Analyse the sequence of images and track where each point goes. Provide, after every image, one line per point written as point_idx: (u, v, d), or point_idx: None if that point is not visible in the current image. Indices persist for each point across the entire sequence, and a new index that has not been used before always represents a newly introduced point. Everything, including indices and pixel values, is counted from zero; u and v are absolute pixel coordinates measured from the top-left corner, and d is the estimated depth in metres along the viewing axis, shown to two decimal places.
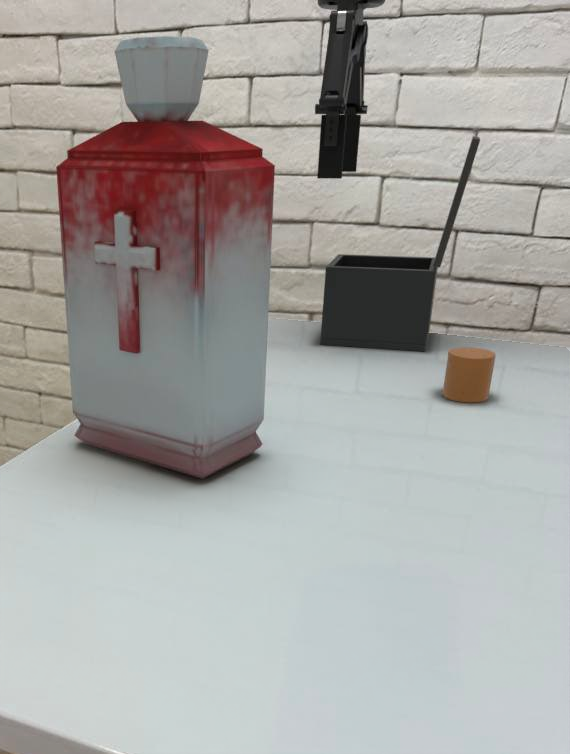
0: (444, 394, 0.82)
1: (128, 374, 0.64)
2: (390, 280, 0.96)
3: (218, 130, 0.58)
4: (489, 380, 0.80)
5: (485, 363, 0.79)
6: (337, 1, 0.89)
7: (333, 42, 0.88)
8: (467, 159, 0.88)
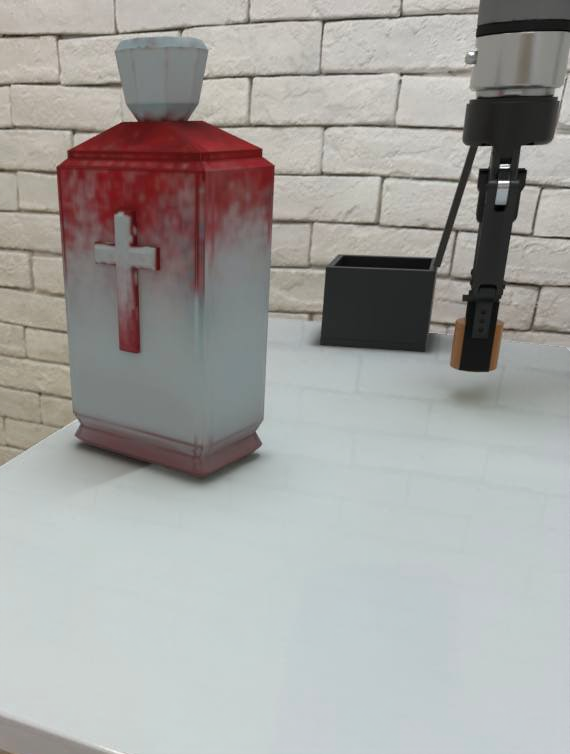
0: (452, 364, 0.81)
1: (128, 374, 0.64)
2: (390, 280, 0.96)
3: (218, 130, 0.58)
4: (497, 349, 0.79)
5: None
6: (495, 144, 0.69)
7: (490, 221, 0.70)
8: (467, 159, 0.88)
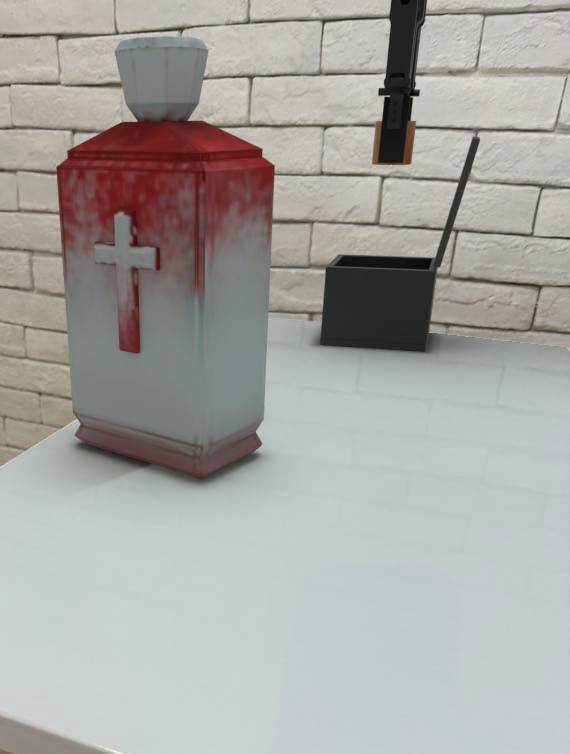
0: (373, 161, 0.93)
1: (128, 374, 0.64)
2: (390, 280, 0.96)
3: (218, 130, 0.58)
4: (410, 144, 0.91)
5: None
6: None
7: (397, 14, 0.82)
8: (467, 159, 0.88)
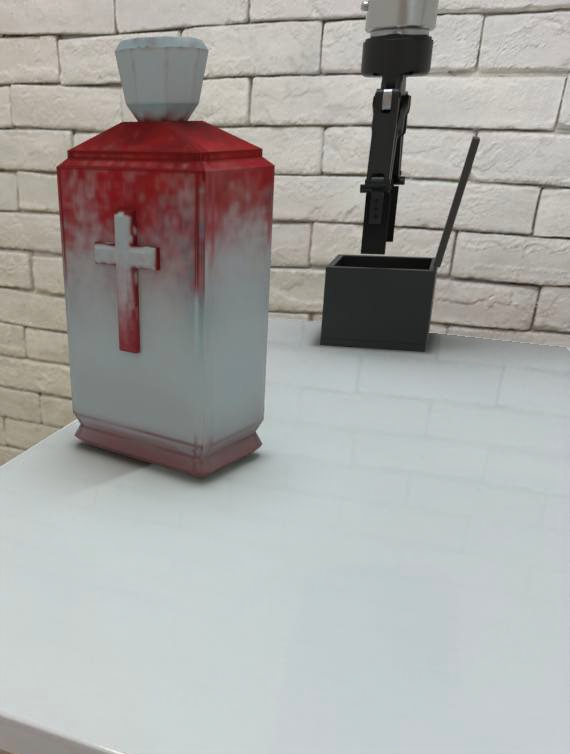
0: None
1: (128, 374, 0.64)
2: (390, 280, 0.96)
3: (218, 130, 0.58)
4: None
5: None
6: (382, 73, 0.89)
7: (379, 122, 0.88)
8: (467, 159, 0.88)
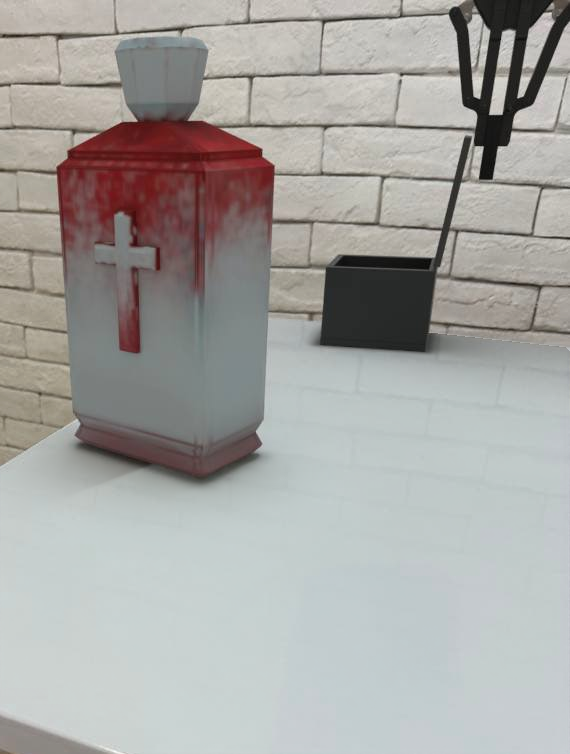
0: None
1: (128, 374, 0.64)
2: (390, 280, 0.96)
3: (218, 130, 0.58)
4: None
5: None
6: None
7: None
8: (460, 158, 0.88)
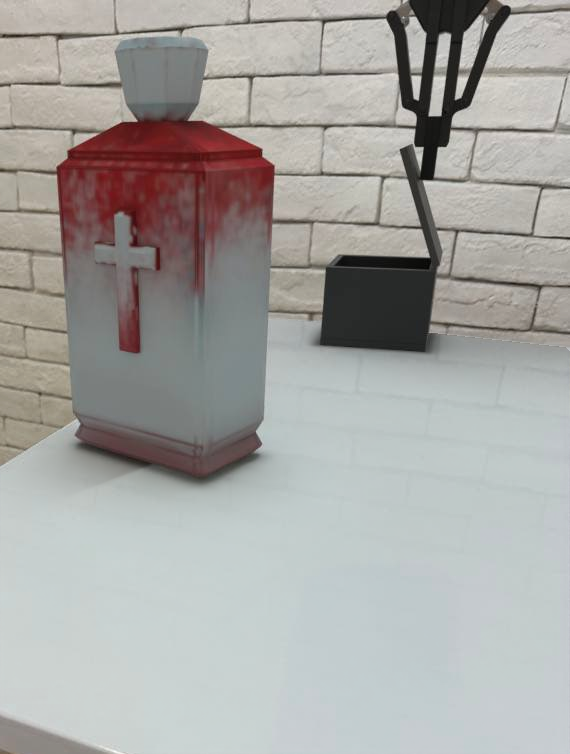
0: None
1: (128, 374, 0.64)
2: (390, 280, 0.96)
3: (218, 130, 0.58)
4: None
5: None
6: None
7: None
8: (405, 168, 0.90)
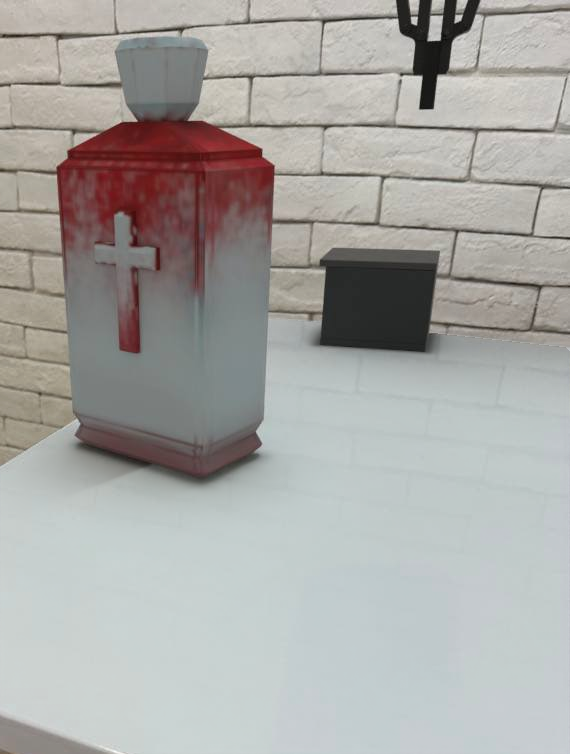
0: None
1: (128, 374, 0.64)
2: (390, 280, 0.96)
3: (218, 130, 0.58)
4: None
5: None
6: None
7: None
8: (336, 265, 0.97)
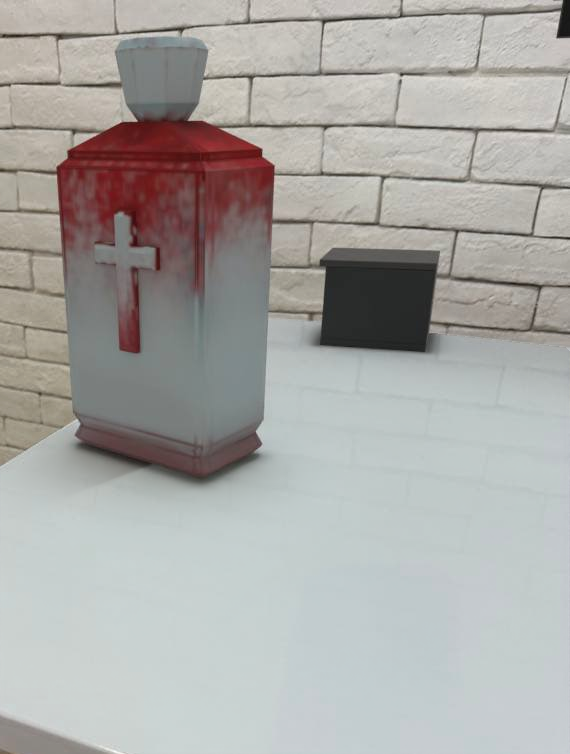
0: None
1: (128, 374, 0.64)
2: (390, 280, 0.96)
3: (218, 130, 0.58)
4: None
5: None
6: None
7: None
8: (336, 265, 0.97)
